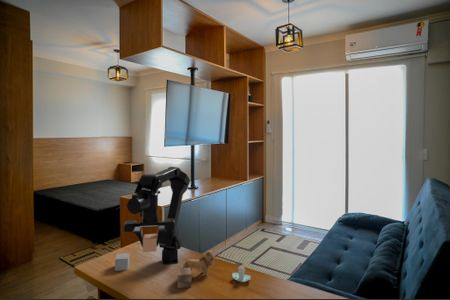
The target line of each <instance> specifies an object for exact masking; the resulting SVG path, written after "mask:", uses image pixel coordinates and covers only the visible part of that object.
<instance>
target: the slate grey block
mask: <svg viewBox="0 0 450 300" xmlns="http://www.w3.org/2000/svg"><path fill="white" fill-rule="evenodd" d="M129 266H130V252H129V253H128V252H127V253H116V256H115V259H114V271H115V272H118V271H128V270H129Z"/></svg>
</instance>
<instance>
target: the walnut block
mask: <svg viewBox="0 0 450 300" xmlns="http://www.w3.org/2000/svg"><path fill="white" fill-rule="evenodd" d="M192 276H193V275H192V271H191V268H183V267H181V268H179V267H178V268H177V280H176V281H177V282H176V283H177V289H181V288H182V289H184V288H191V287H192V281H193V280H192V279H193V278H192Z"/></svg>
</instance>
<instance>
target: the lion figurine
mask: <svg viewBox="0 0 450 300" xmlns="http://www.w3.org/2000/svg"><path fill="white" fill-rule="evenodd" d="M214 261H215V252H214V251H213V250H208V251H205V254H204V255H203V256H202V257H201V258H199V259H192V258H189V259H187V260H186V261H185V262H184V264H183V265H182V266H183V267H182V268H191V272H192V270H193V268H194V269H195V270H196V269H197V270H200V269H201V273H202V274H204V276H206V277H208V276H209V274H208V268H209V267H211V266H212V265H213V263H214ZM193 278H194V276H193V275H192V279H193Z"/></svg>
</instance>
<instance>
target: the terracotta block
mask: <svg viewBox="0 0 450 300" xmlns="http://www.w3.org/2000/svg"><path fill="white" fill-rule="evenodd" d="M157 236H158V233H145V234H144V235H143V247H142V253H151V252H157V249H158V246H157Z"/></svg>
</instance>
